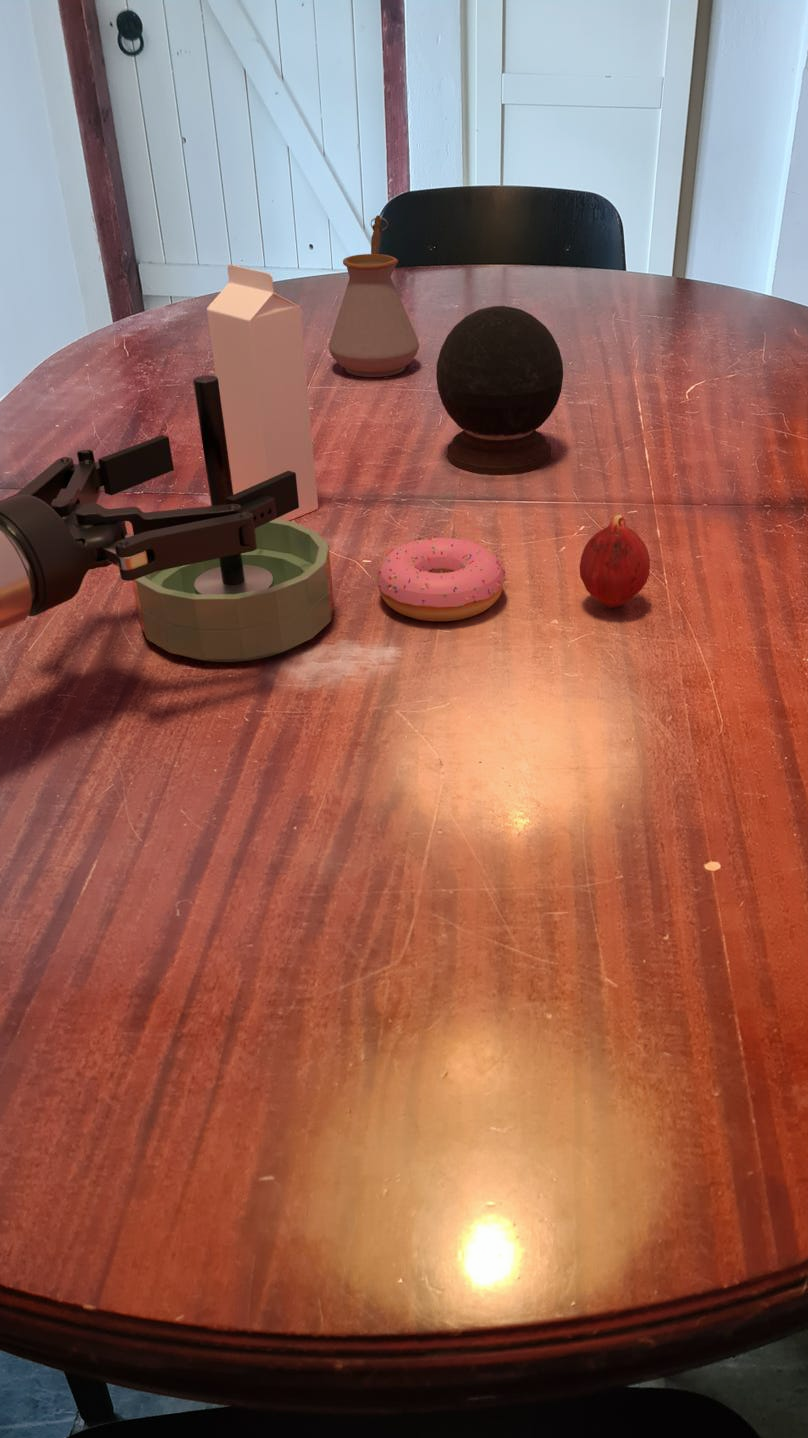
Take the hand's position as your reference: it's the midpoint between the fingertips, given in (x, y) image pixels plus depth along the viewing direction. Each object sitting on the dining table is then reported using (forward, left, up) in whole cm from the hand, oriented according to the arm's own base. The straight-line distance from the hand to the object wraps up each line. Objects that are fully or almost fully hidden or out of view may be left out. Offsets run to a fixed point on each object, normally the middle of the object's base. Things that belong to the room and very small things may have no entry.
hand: (229, 470), depth 96 cm
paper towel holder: (0, -1, -12) cm, 12 cm away
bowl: (0, -1, -12) cm, 13 cm away
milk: (-9, +21, -13) cm, 26 cm away
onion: (+28, +13, -13) cm, 33 cm away
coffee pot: (-22, +71, -13) cm, 75 cm away
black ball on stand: (+6, +43, -13) cm, 45 cm away
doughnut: (+14, +9, -13) cm, 21 cm away
